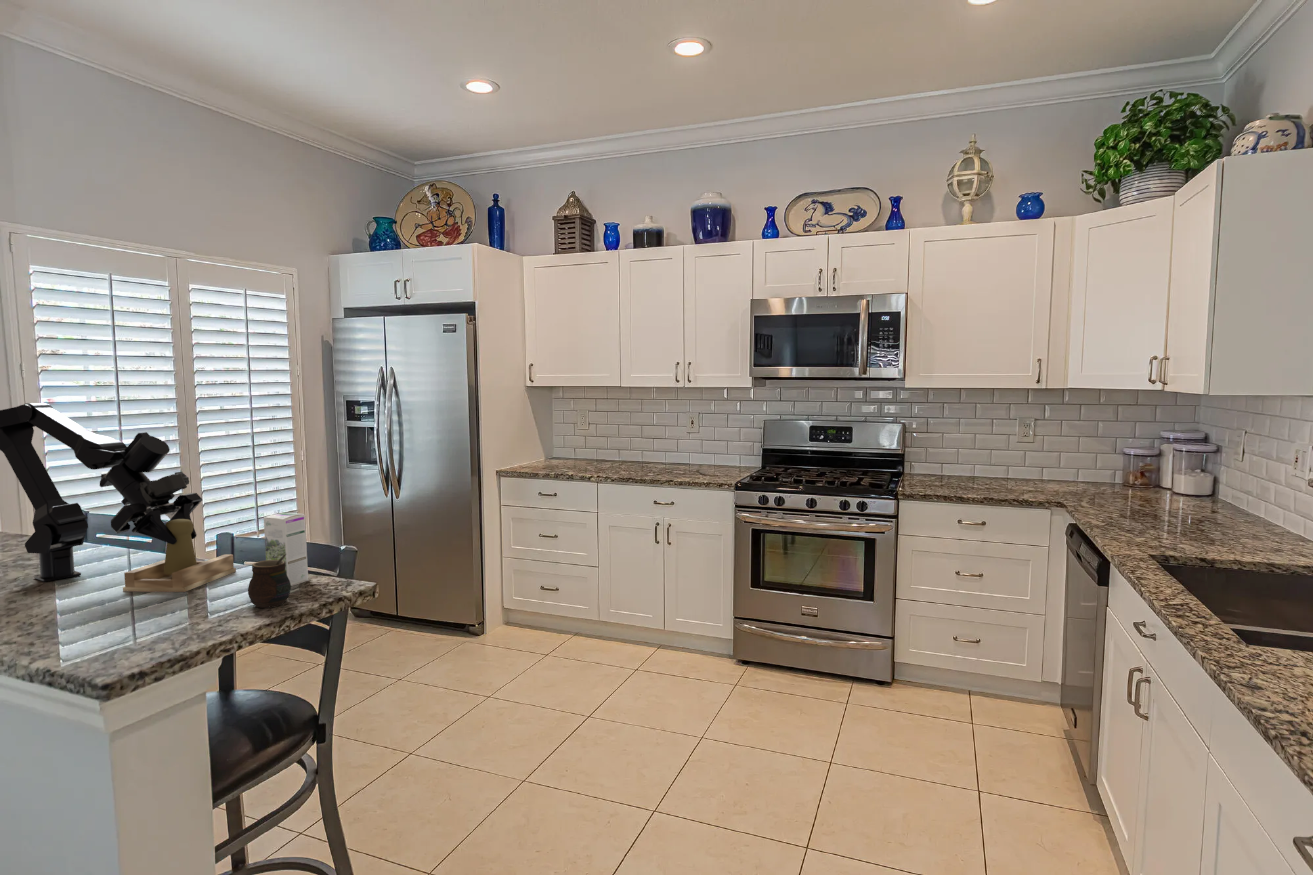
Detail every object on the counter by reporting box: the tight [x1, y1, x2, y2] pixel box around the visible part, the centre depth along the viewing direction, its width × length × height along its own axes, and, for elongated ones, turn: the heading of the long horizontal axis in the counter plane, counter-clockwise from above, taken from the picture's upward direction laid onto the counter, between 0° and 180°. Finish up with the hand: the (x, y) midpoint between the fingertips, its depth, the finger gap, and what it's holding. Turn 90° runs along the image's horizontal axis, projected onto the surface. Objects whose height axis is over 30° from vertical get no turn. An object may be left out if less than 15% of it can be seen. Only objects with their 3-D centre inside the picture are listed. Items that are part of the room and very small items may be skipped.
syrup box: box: [263, 512, 309, 587], centre depth 149 cm, size 6×6×14 cm
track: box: [122, 554, 237, 593], centre depth 152 cm, size 16×13×4 cm
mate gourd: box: [247, 554, 292, 609], centre depth 134 cm, size 7×8×10 cm
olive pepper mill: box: [164, 519, 197, 575], centre depth 151 cm, size 6×6×11 cm
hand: (185, 540), depth 151 cm, fingers closed on olive pepper mill, 5 cm apart
